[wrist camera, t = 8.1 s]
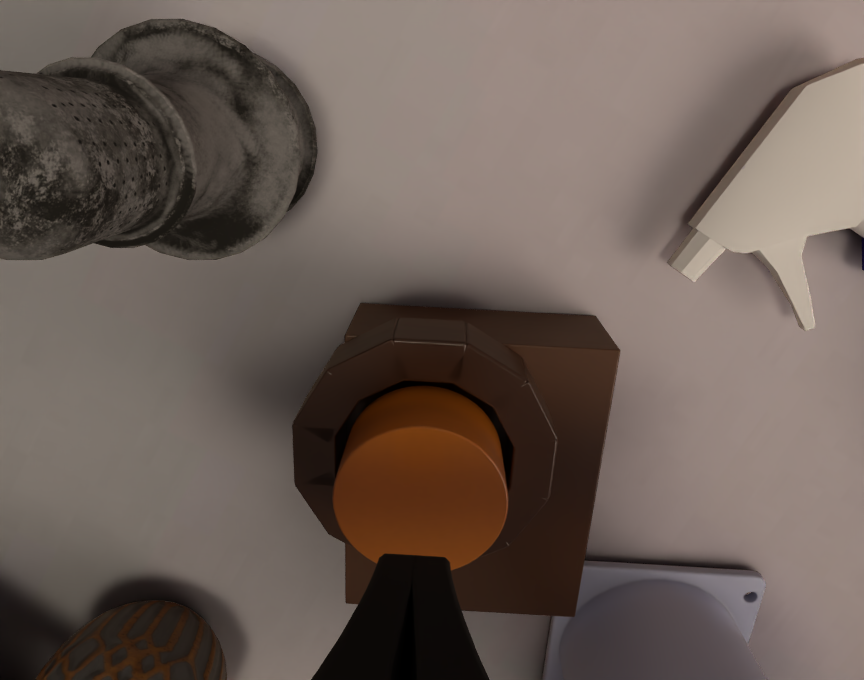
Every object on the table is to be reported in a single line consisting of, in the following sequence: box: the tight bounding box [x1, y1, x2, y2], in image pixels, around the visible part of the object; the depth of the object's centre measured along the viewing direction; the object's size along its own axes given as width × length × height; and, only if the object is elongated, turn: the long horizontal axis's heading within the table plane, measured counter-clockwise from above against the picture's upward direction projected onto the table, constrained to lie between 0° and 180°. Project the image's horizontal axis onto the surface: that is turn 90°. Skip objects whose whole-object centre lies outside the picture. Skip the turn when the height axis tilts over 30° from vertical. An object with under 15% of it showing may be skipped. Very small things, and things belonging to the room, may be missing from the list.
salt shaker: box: [0, 19, 317, 260], centre depth 13 cm, size 6×6×12 cm
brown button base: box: [292, 303, 620, 617], centre depth 20 cm, size 11×9×5 cm
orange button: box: [332, 386, 509, 570], centre depth 16 cm, size 4×4×2 cm
